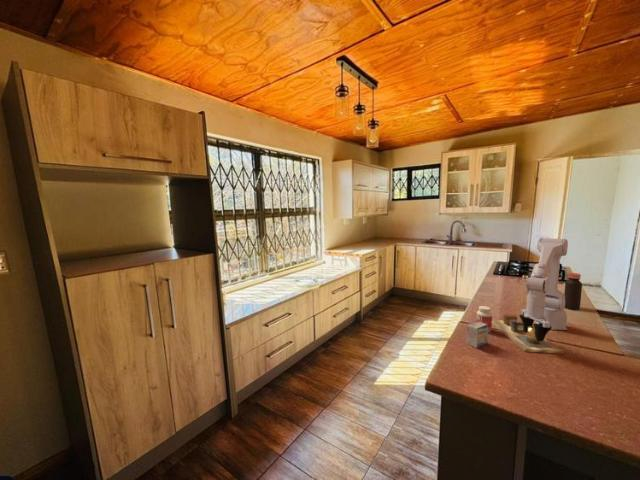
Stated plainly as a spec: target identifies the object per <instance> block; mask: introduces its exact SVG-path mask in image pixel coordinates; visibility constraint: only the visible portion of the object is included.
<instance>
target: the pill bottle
mask: <svg viewBox="0 0 640 480" xmlns="http://www.w3.org/2000/svg"><path fill="white" fill-rule="evenodd" d="M492 320H493V313H492V312H491V307H489V306H485V305H480V306H478V311H476V322H482V323H485V324H487V325H488V333H490V332H491V331H492V326H493V324H492Z"/></svg>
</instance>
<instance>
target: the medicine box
mask: <svg viewBox="0 0 640 480" xmlns="http://www.w3.org/2000/svg"><path fill="white" fill-rule="evenodd" d="M488 334H489V332H488V325H487V324H485V323H482V322H477V321H476V322H473V323H470V324H468V325H466V344H467V345H469V346H470V347H473V348H474V349H477V348H480V347H482V346H484V345H487V344H488Z"/></svg>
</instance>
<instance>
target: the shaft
mask: <svg viewBox="0 0 640 480" xmlns="http://www.w3.org/2000/svg"><path fill="white" fill-rule="evenodd" d="M503 320H504V322H503V323H504V324H506V325H511V321H516V322H518V321H519V320H518V316H517V315H515V314H504V315H503ZM517 330H523V325H517Z"/></svg>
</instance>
